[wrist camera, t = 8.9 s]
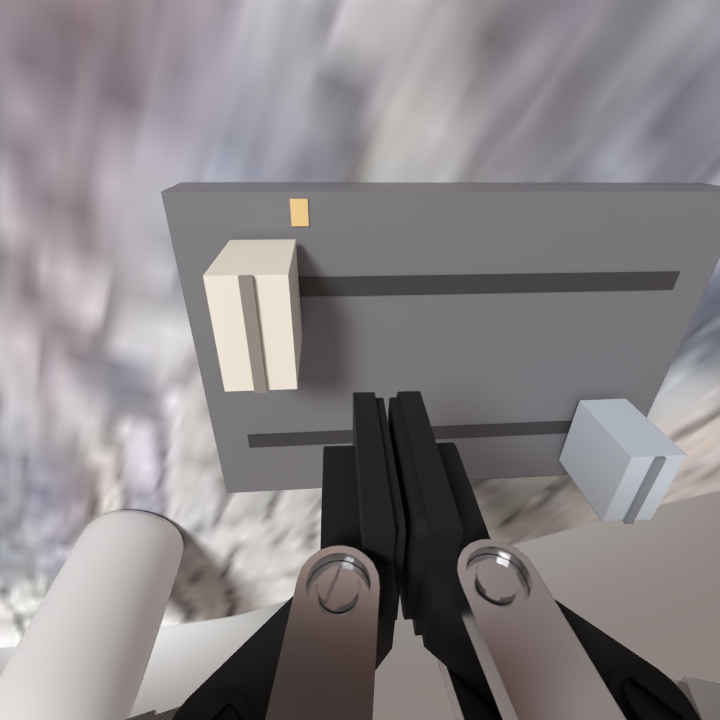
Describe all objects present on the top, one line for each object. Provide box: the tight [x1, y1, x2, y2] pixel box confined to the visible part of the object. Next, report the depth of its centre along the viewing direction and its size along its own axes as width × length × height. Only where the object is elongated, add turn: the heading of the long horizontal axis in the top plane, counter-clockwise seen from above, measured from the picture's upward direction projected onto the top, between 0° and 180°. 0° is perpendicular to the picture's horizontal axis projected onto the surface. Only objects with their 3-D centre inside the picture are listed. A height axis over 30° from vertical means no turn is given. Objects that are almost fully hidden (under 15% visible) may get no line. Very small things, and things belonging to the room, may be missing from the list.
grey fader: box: [559, 399, 686, 524], centre depth 25 cm, size 5×3×5 cm, turn 0°
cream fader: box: [203, 239, 302, 393], centre depth 18 cm, size 5×3×5 cm, turn 179°
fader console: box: [161, 183, 720, 493], centre depth 25 cm, size 19×28×3 cm
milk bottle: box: [0, 510, 184, 720], centre depth 25 cm, size 8×8×20 cm
